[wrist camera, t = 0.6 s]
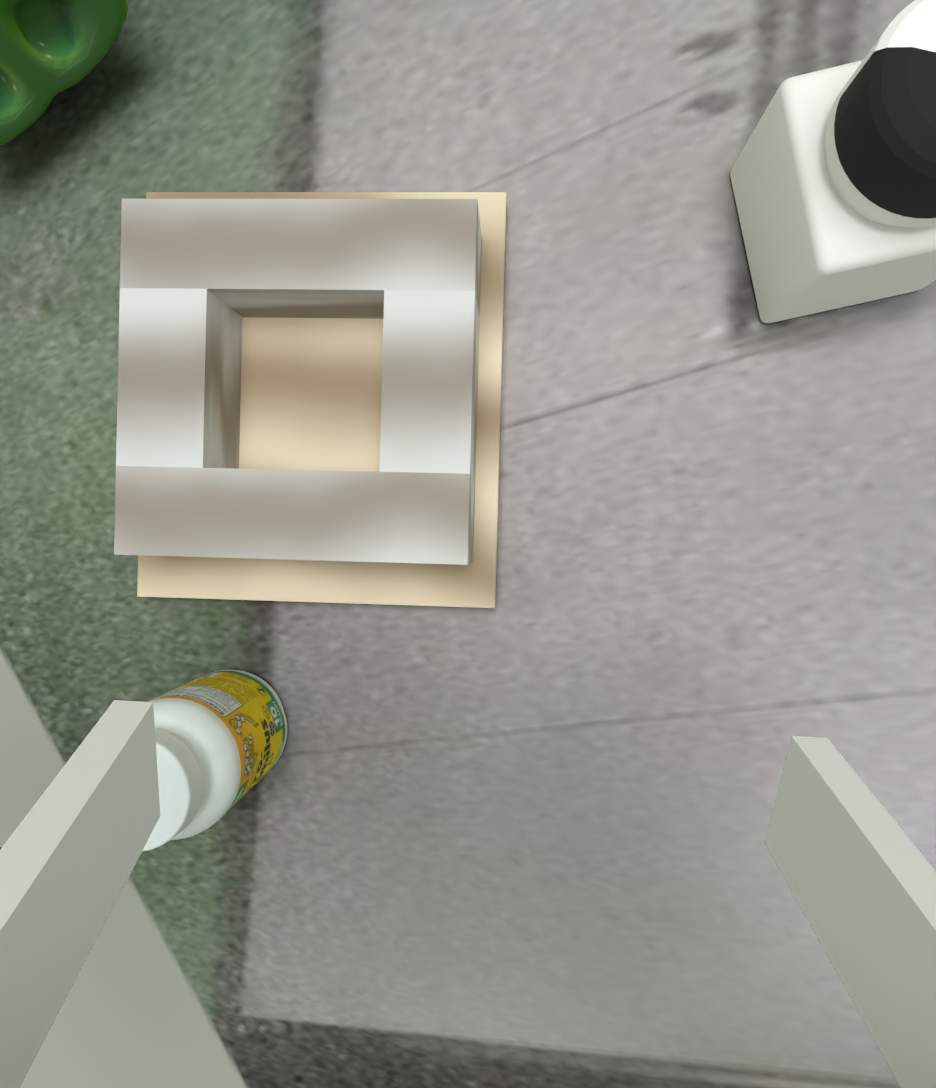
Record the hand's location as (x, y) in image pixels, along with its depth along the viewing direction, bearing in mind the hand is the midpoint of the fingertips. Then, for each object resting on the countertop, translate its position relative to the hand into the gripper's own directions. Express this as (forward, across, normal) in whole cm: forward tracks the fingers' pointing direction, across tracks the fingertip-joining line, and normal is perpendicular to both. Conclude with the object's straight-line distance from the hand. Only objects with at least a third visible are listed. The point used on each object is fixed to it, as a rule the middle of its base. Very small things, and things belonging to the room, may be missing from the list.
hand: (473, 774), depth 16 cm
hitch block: (+22, +6, -4) cm, 24 cm away
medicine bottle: (+23, -15, -13) cm, 31 cm away
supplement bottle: (+18, +10, +11) cm, 23 cm away
